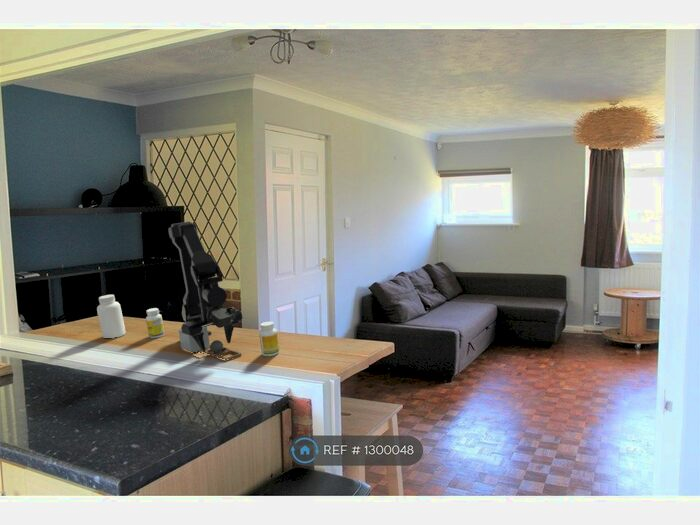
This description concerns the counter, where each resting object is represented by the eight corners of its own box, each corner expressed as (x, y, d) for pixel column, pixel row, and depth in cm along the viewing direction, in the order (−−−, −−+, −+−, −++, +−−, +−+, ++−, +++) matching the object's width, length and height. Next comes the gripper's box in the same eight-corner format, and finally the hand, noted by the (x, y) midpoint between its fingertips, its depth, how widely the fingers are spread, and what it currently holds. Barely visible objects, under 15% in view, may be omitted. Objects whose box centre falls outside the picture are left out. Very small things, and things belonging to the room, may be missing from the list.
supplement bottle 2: (258, 354, 171) (254, 324, 169) (273, 348, 174) (269, 319, 172) (268, 358, 167) (263, 327, 165) (283, 352, 170) (279, 322, 168)
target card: (191, 355, 176) (191, 354, 176) (200, 352, 178) (200, 351, 178) (199, 358, 172) (199, 357, 172) (208, 355, 174) (208, 354, 174)
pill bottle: (102, 335, 207) (94, 296, 204) (125, 330, 210) (118, 292, 207) (102, 341, 200) (94, 300, 197) (126, 336, 203) (119, 296, 200)
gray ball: (208, 353, 176) (206, 341, 175) (219, 349, 179) (217, 337, 178) (215, 355, 173) (213, 343, 172) (226, 351, 176) (224, 339, 175)
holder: (205, 353, 176) (204, 351, 176) (220, 348, 180) (220, 345, 180) (225, 361, 167) (225, 359, 167) (241, 355, 171) (241, 353, 171)
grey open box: (181, 349, 182) (178, 329, 180) (199, 343, 186) (196, 323, 185) (191, 353, 177) (188, 332, 176) (210, 347, 181) (206, 326, 180)
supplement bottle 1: (147, 336, 200) (142, 310, 198) (162, 332, 203) (157, 306, 201) (151, 339, 196) (147, 312, 194) (167, 335, 199) (162, 309, 197)
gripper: (195, 311, 160) (203, 362, 163) (249, 295, 173) (255, 343, 176) (176, 306, 168) (184, 355, 171) (229, 291, 181) (236, 336, 184)
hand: (216, 347), depth 175 cm, fingers open, 9 cm apart
